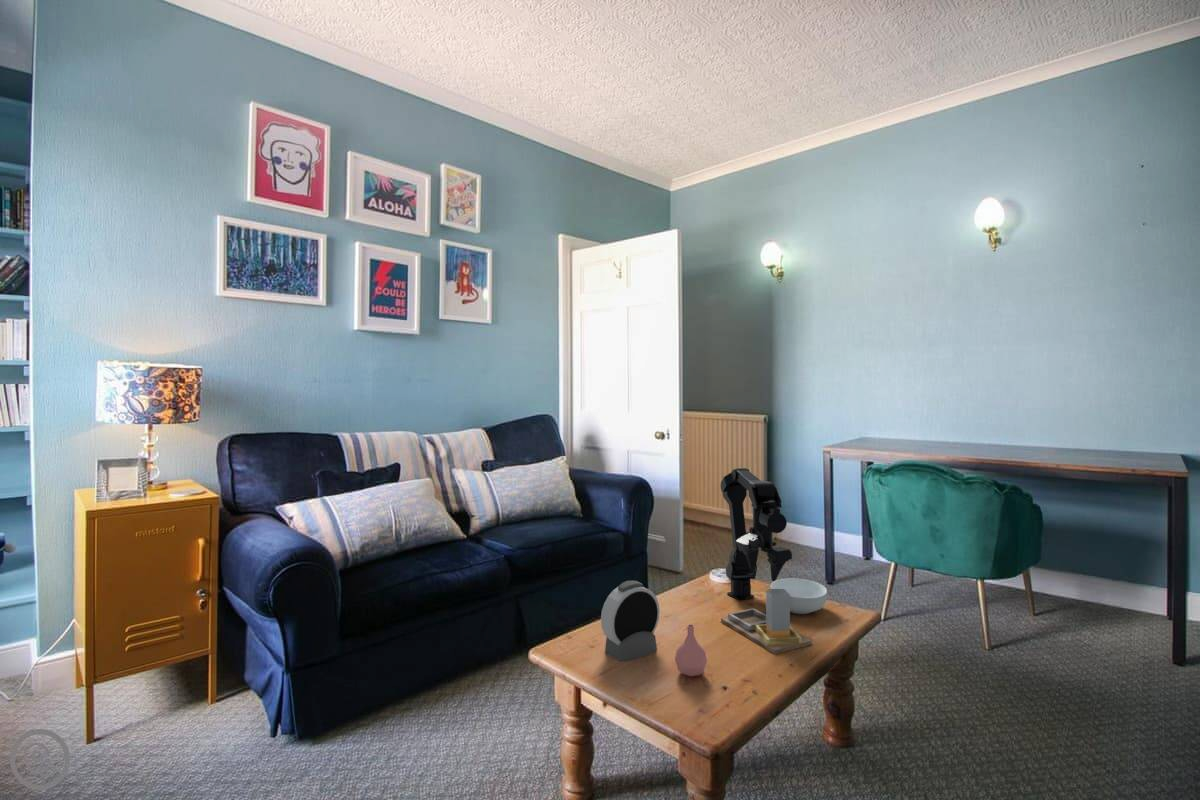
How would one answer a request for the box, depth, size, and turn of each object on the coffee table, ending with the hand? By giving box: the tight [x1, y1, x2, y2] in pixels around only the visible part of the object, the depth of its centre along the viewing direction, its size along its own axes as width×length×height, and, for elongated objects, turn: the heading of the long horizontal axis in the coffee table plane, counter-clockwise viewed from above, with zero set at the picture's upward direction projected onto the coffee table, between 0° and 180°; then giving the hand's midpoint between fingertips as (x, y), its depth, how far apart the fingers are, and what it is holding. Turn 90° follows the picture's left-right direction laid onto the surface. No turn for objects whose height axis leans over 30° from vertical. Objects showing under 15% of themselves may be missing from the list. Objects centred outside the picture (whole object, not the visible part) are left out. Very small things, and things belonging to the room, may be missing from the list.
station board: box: [720, 607, 813, 655], centre depth 166 cm, size 23×13×2 cm, turn 25°
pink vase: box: [674, 624, 708, 677], centre depth 143 cm, size 8×8×12 cm
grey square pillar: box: [765, 588, 791, 638], centre depth 161 cm, size 4×5×12 cm
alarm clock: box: [600, 580, 661, 662], centre depth 156 cm, size 16×10×18 cm, turn 123°
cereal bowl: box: [770, 577, 828, 615], centre depth 182 cm, size 17×17×7 cm
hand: (762, 576), depth 175 cm, fingers open, 9 cm apart
